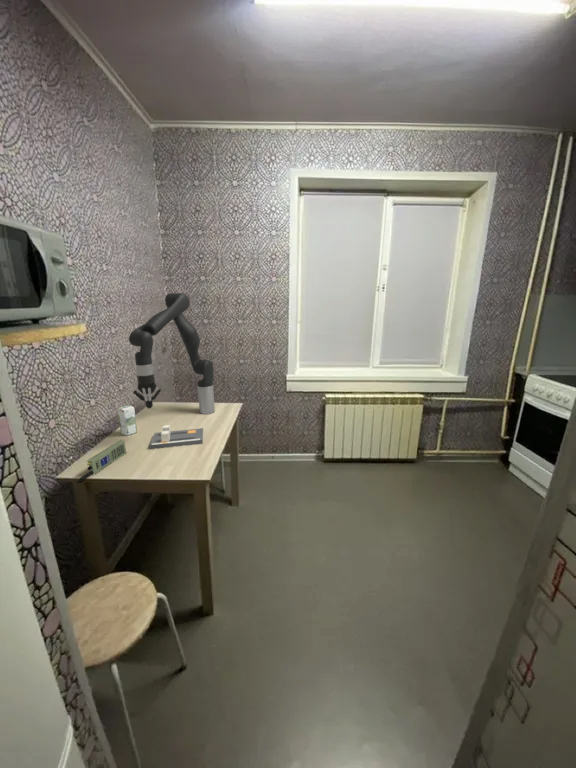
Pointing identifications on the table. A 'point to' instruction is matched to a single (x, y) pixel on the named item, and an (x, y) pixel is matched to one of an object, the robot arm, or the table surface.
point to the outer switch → (165, 436)
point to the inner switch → (167, 428)
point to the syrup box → (127, 420)
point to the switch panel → (178, 438)
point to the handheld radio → (105, 458)
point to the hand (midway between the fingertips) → (149, 407)
